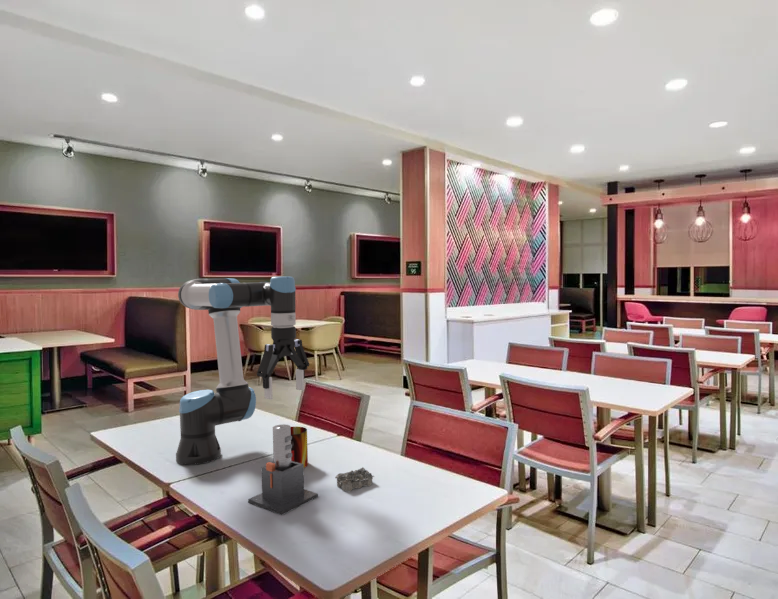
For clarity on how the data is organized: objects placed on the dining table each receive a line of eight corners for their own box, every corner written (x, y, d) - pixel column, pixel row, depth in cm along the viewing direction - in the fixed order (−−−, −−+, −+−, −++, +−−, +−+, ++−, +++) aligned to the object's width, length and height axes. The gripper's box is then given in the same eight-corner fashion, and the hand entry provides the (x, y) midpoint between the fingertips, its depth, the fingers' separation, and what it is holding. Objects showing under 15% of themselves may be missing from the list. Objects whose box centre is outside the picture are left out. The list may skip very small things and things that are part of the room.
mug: (292, 476, 169) (291, 439, 168) (274, 464, 180) (273, 429, 179) (318, 469, 174) (317, 434, 174) (300, 458, 186) (299, 424, 185)
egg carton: (344, 493, 156) (344, 480, 155) (333, 485, 162) (333, 472, 162) (375, 485, 161) (375, 472, 161) (364, 477, 168) (364, 465, 167)
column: (269, 496, 151) (267, 427, 150) (284, 489, 155) (282, 423, 154) (283, 501, 147) (281, 431, 146) (298, 494, 152) (296, 426, 151)
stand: (248, 502, 150) (247, 461, 149) (285, 486, 161) (284, 447, 161) (281, 515, 142) (280, 471, 141) (318, 496, 153) (317, 456, 152)
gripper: (261, 331, 150) (262, 404, 151) (319, 323, 170) (320, 387, 172) (243, 329, 154) (245, 401, 155) (302, 321, 174) (303, 384, 176)
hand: (284, 394), depth 163 cm, fingers open, 13 cm apart
